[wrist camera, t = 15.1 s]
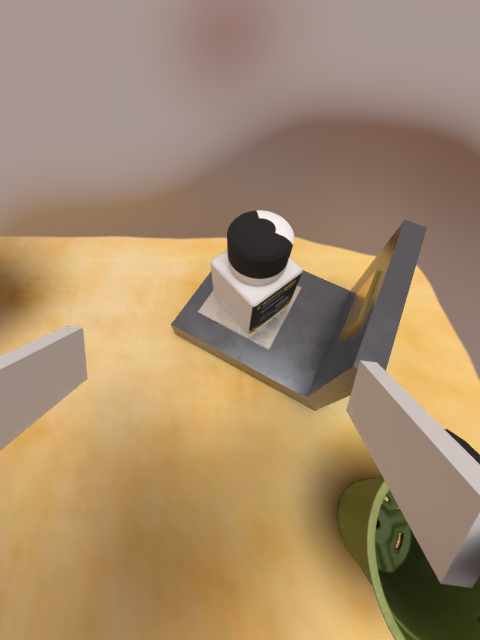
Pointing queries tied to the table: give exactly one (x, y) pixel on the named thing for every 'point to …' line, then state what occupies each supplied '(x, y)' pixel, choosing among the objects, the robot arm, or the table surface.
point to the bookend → (314, 326)
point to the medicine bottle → (256, 269)
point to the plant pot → (403, 570)
